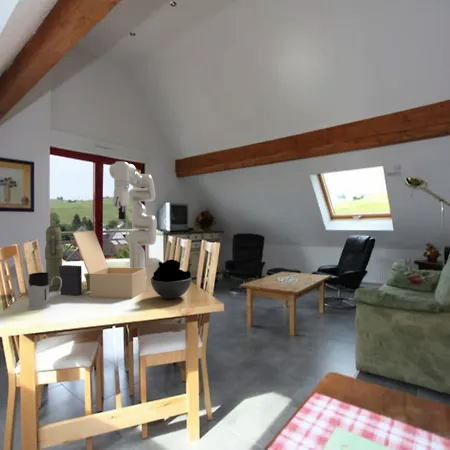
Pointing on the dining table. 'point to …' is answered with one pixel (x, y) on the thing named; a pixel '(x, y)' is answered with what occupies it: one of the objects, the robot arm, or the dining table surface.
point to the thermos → (53, 256)
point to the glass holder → (39, 291)
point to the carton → (117, 282)
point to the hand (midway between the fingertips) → (122, 219)
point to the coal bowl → (170, 279)
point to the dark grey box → (70, 280)
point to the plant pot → (87, 280)
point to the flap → (90, 251)
